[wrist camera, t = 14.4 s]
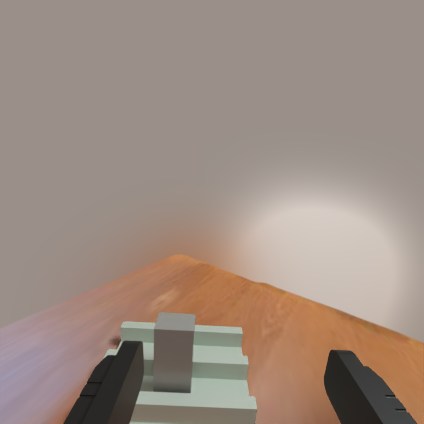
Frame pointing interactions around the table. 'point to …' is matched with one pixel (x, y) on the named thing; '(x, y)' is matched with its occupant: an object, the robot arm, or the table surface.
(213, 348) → the pale green ridged block
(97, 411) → the robot arm
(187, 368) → the grey rectangular block
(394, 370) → the table surface
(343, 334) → the table surface
